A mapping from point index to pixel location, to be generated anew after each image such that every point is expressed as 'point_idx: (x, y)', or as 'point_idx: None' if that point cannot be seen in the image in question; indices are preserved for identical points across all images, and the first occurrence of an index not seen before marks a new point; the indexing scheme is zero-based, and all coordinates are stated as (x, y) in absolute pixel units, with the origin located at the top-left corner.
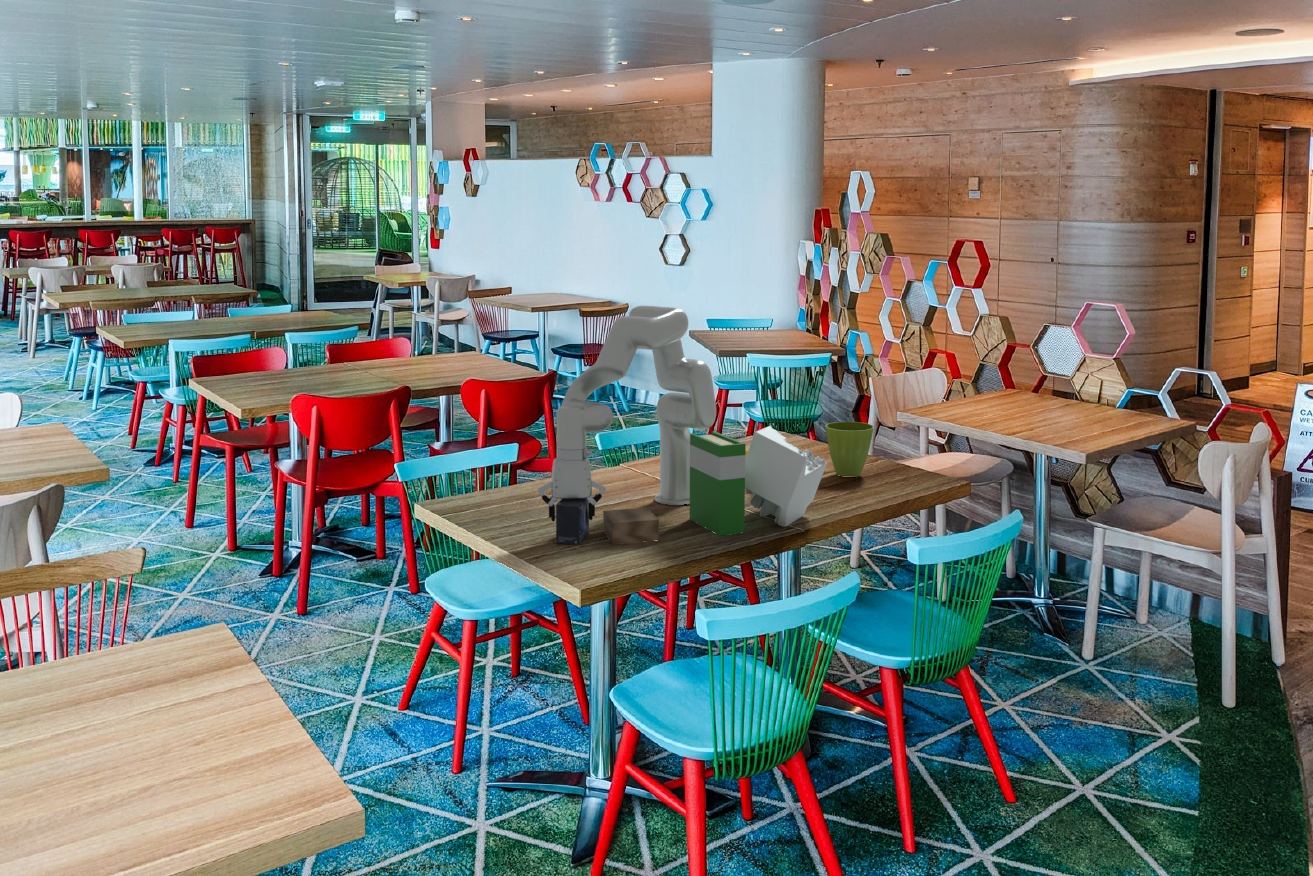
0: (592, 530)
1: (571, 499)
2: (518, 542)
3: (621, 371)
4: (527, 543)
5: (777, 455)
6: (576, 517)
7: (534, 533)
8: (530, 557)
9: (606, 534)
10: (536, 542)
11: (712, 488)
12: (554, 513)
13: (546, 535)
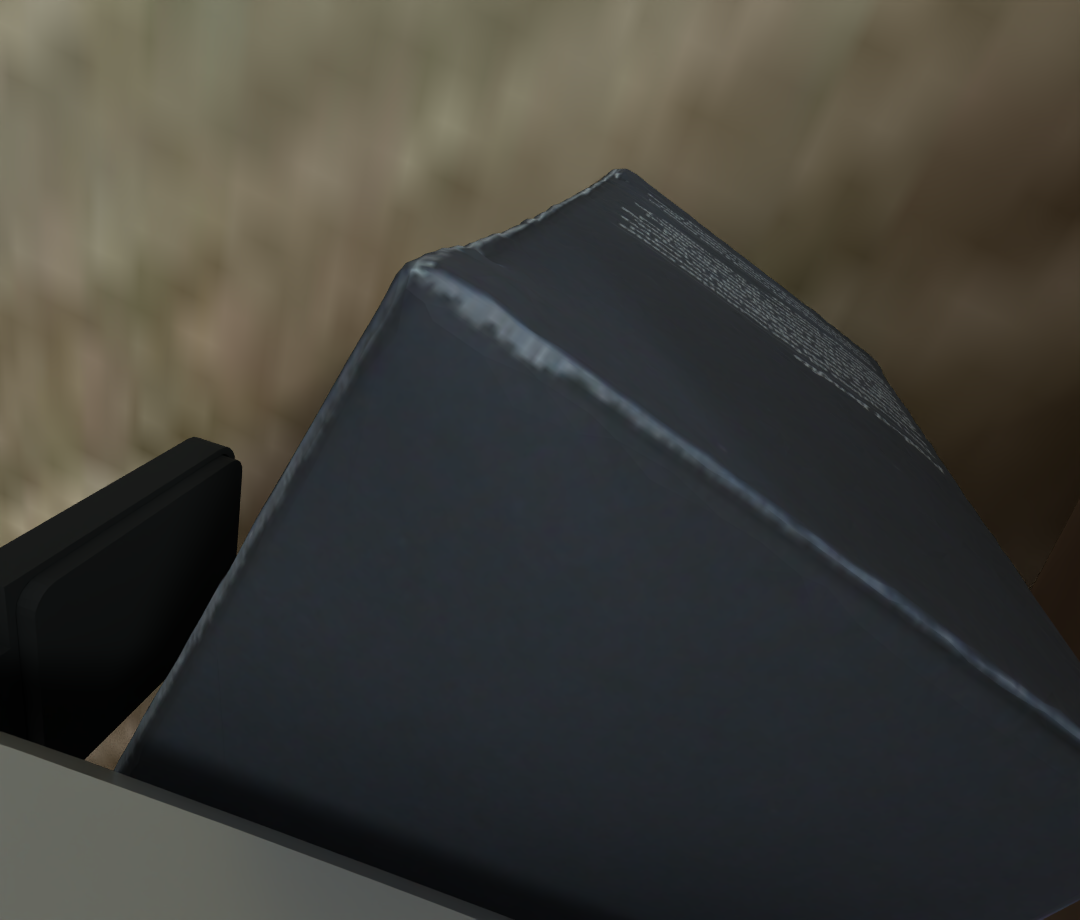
0: (1039, 208)
1: None
2: (10, 323)
3: None
4: (96, 398)
5: None
6: None
7: (187, 8)
8: (114, 746)
9: (1064, 549)
10: (183, 407)
11: None
12: (141, 693)
13: (323, 181)
